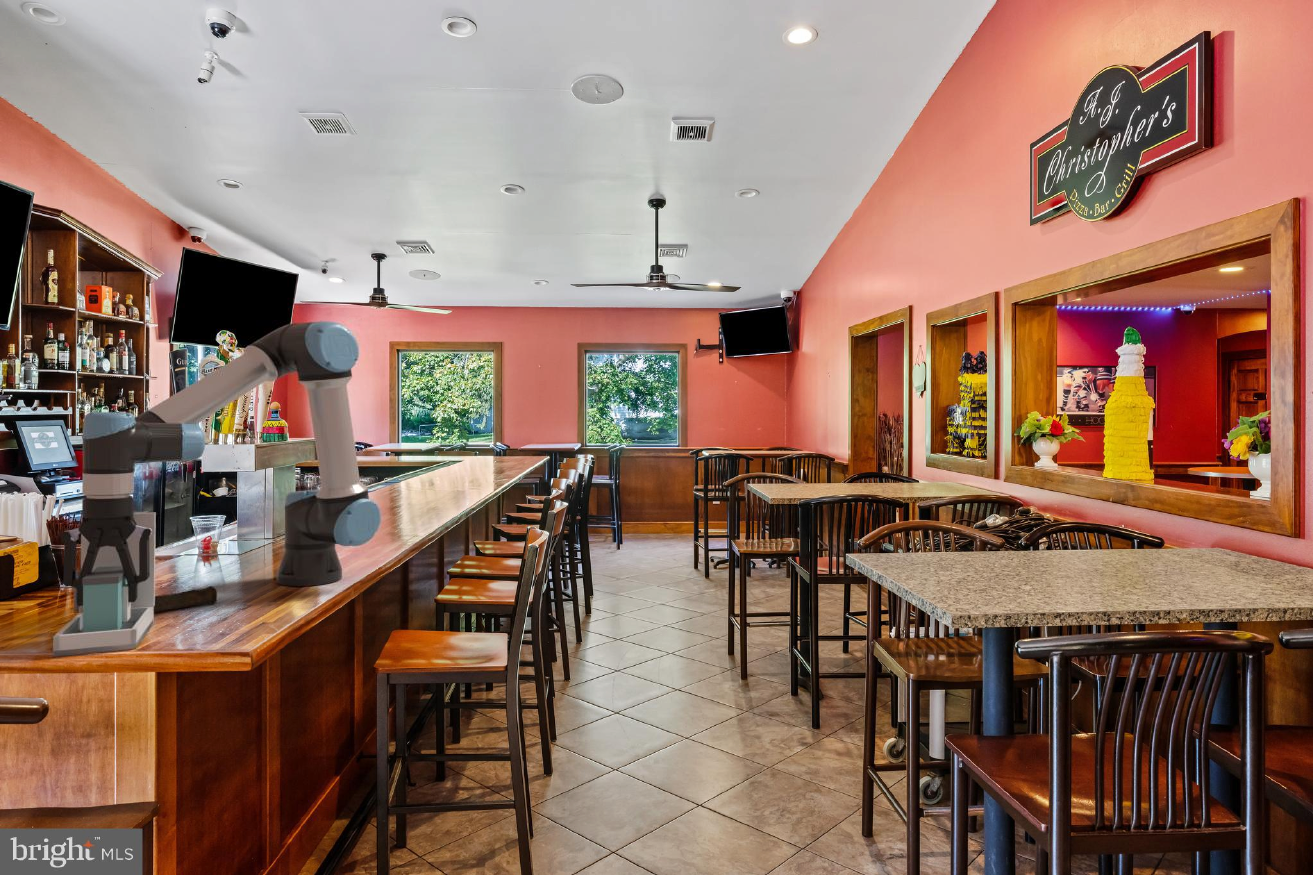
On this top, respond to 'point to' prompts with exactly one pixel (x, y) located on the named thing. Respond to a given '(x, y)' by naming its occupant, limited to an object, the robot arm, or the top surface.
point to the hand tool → (185, 599)
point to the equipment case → (142, 609)
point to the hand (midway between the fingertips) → (107, 620)
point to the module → (103, 599)
